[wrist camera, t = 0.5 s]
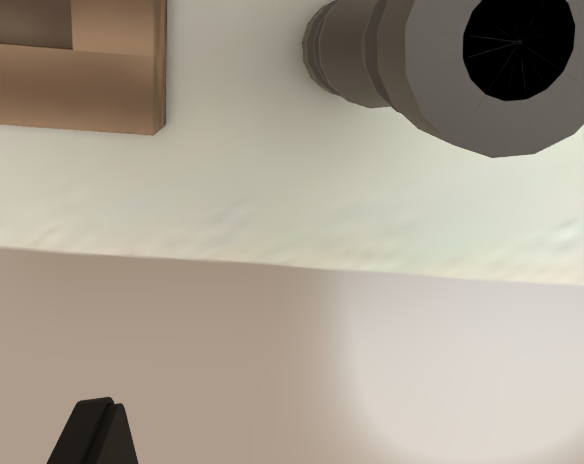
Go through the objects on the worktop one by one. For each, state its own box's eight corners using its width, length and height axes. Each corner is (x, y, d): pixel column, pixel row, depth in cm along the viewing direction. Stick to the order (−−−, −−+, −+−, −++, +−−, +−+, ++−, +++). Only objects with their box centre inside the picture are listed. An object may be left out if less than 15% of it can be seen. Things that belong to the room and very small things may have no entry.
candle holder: (296, 89, 38) (373, 155, 14) (308, -8, 36) (419, -124, 12) (384, 100, 38) (601, 179, 15) (400, 4, 36) (678, -82, 13)
